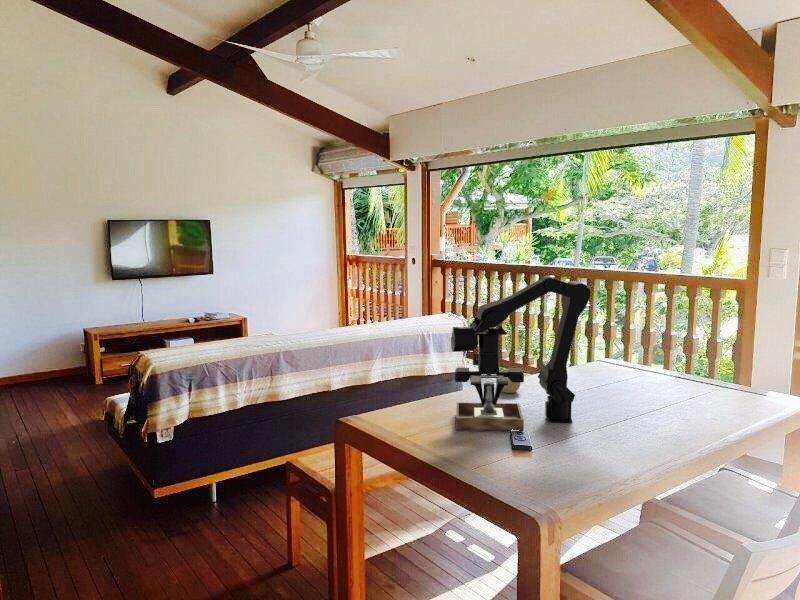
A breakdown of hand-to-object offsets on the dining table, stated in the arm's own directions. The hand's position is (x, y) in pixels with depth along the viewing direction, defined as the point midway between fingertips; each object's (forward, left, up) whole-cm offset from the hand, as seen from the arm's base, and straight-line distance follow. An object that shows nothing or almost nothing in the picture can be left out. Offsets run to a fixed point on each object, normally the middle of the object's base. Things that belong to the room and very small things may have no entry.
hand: (488, 404), depth 167 cm
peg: (0, 0, -2) cm, 2 cm away
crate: (0, 0, -5) cm, 5 cm away
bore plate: (0, 0, -5) cm, 5 cm away
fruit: (-8, -30, -5) cm, 32 cm away
